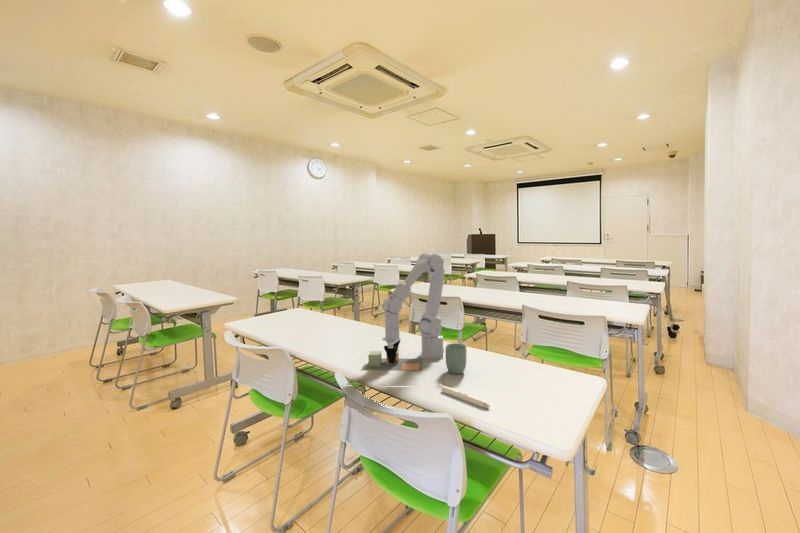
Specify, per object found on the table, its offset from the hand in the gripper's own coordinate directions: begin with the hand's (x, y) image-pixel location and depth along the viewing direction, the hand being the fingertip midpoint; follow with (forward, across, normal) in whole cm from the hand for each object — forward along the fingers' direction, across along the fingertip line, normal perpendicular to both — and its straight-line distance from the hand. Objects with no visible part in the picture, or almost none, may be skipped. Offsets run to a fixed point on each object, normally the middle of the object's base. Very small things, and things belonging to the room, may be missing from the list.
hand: (392, 360), depth 146 cm
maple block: (+1, 0, 0) cm, 1 cm away
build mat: (+1, +2, +1) cm, 3 cm away
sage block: (+1, +2, -7) cm, 7 cm away
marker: (+2, +30, +26) cm, 40 cm away
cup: (+2, +8, +25) cm, 26 cm away
